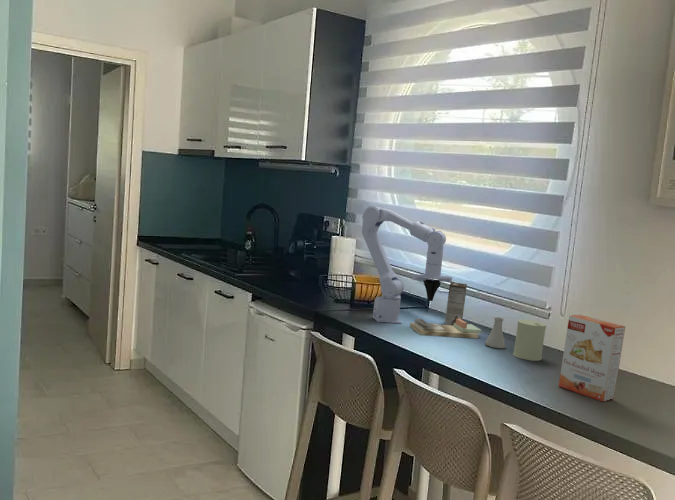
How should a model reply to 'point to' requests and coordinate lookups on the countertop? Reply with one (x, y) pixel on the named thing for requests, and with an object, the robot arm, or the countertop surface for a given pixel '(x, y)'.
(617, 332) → the cracker box
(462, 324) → the stub
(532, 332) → the can
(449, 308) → the coffee box
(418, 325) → the ticket board
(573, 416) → the countertop surface
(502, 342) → the flask
